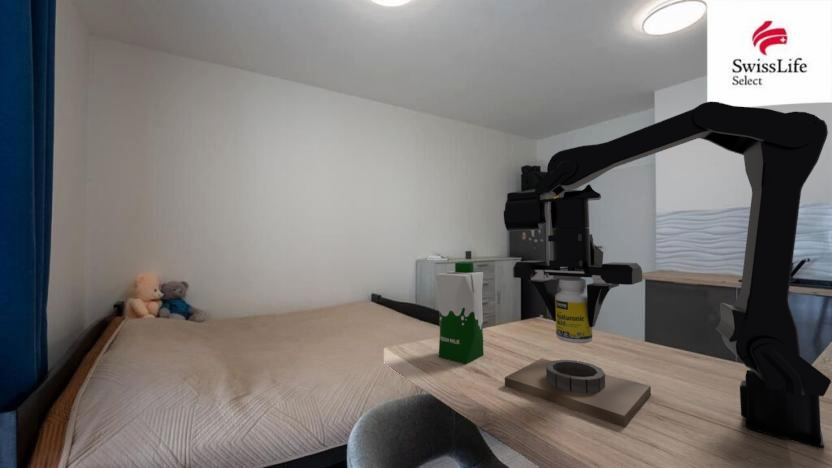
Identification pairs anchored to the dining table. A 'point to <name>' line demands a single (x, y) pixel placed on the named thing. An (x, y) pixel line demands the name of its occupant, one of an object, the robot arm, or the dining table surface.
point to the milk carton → (460, 313)
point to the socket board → (585, 403)
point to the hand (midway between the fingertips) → (573, 323)
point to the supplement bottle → (572, 311)
